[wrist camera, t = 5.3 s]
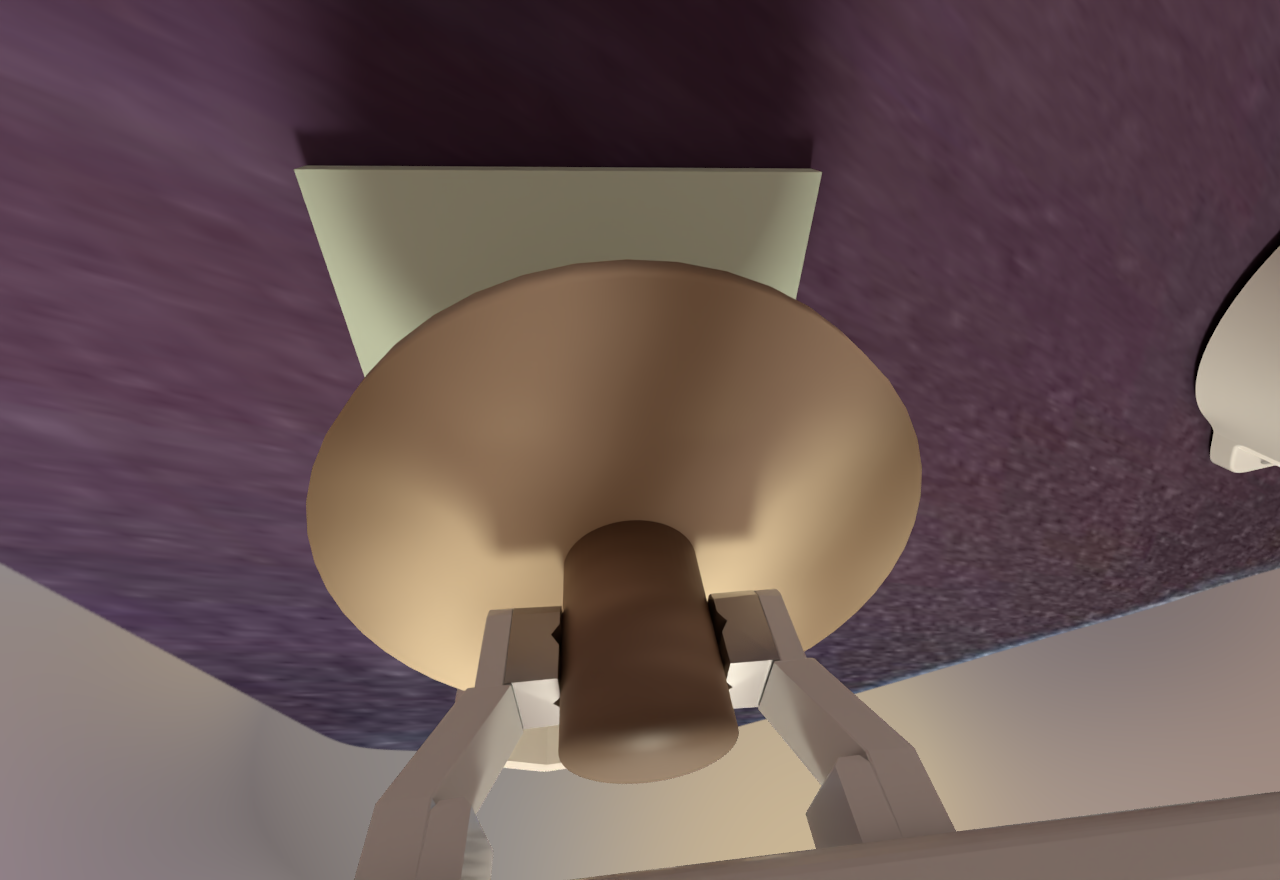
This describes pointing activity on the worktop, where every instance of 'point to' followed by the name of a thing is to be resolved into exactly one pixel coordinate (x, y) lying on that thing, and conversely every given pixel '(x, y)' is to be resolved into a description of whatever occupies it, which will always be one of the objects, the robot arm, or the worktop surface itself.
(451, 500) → the lid
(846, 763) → the robot arm
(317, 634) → the worktop surface
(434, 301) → the mat
